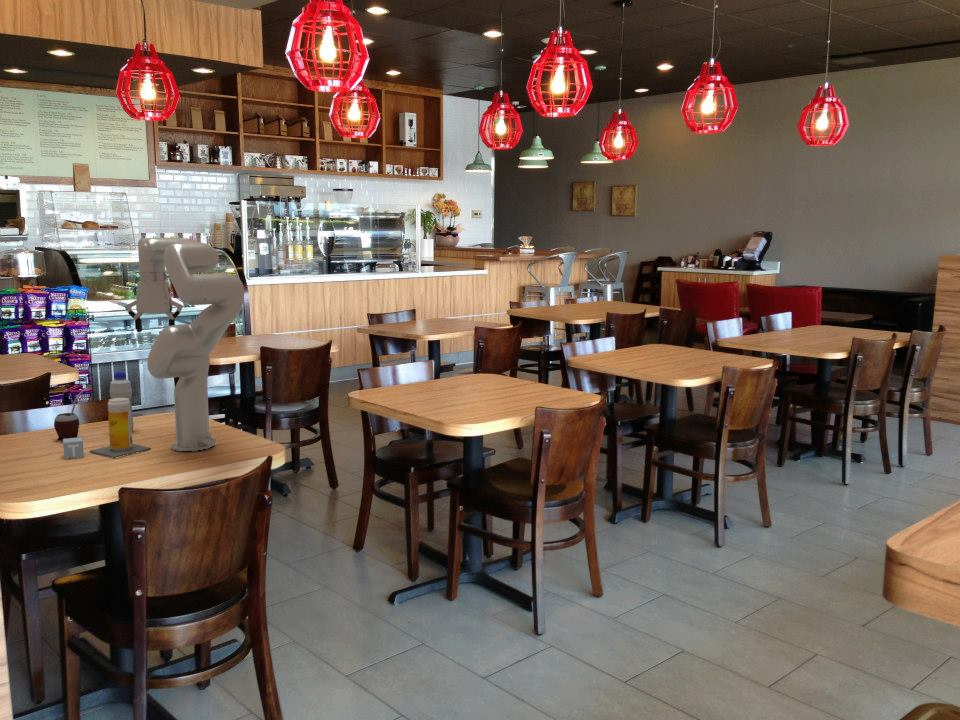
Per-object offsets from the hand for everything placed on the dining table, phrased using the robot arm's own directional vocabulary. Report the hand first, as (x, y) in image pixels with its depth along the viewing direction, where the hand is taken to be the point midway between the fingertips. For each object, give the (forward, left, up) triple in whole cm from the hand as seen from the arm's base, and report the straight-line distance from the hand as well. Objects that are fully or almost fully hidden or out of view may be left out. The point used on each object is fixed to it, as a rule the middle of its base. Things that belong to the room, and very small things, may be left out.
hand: (155, 331), depth 256 cm
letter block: (-2, +31, -33) cm, 46 cm away
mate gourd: (+18, +20, -34) cm, 43 cm away
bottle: (+12, +5, -34) cm, 36 cm away
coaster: (-8, +20, -33) cm, 40 cm away
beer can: (-8, +20, -33) cm, 39 cm away
